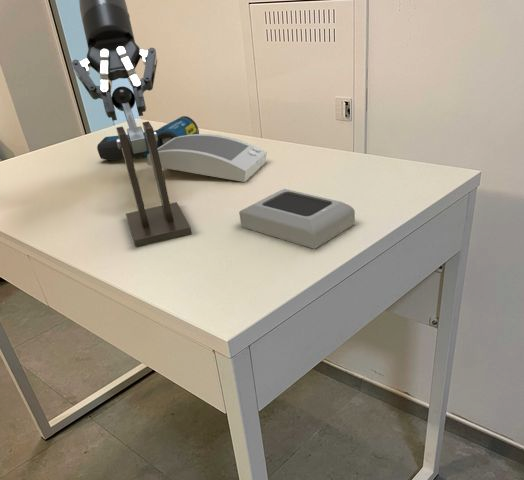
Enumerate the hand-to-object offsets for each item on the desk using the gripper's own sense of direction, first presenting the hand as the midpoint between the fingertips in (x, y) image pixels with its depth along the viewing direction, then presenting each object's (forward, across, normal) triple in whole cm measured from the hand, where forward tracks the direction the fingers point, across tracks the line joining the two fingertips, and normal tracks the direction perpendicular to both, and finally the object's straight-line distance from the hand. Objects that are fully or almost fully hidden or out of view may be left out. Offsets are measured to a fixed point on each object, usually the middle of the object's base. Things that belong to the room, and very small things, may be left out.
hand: (127, 114), depth 86 cm
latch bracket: (+16, +1, +6) cm, 18 cm away
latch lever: (+2, 0, 0) cm, 2 cm away
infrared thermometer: (-13, +2, +36) cm, 39 cm away
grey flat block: (+24, +22, -1) cm, 32 cm away
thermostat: (0, +13, +23) cm, 26 cm away
